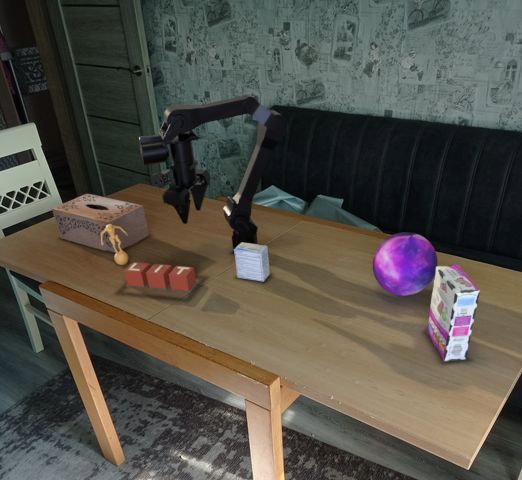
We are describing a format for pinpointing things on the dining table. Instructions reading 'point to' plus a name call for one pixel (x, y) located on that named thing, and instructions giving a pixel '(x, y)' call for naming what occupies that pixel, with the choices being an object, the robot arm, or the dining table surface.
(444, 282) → the candy bar box
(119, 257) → the figurine
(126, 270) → the letter L
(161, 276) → the red box-shaped block
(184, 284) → the letter T
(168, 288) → the word mat
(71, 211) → the tissue box cover
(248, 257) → the medicine box
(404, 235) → the decorative orb
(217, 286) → the dining table surface
